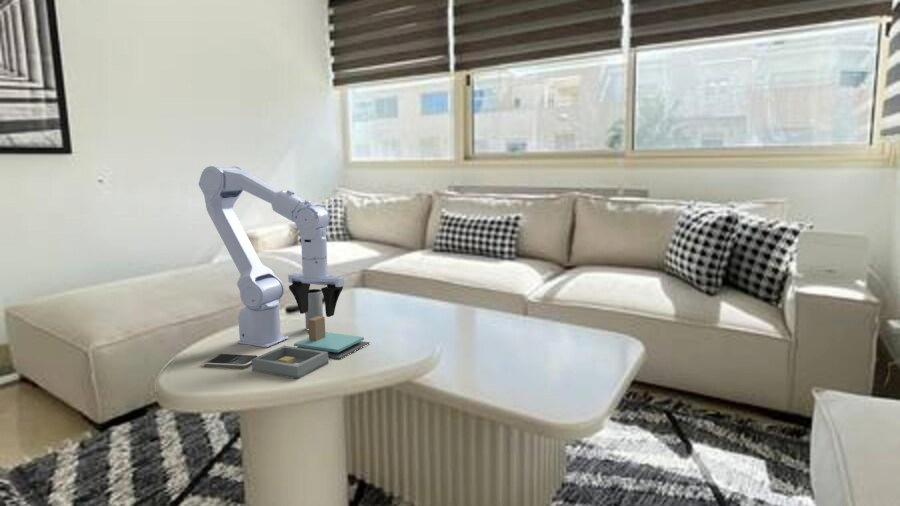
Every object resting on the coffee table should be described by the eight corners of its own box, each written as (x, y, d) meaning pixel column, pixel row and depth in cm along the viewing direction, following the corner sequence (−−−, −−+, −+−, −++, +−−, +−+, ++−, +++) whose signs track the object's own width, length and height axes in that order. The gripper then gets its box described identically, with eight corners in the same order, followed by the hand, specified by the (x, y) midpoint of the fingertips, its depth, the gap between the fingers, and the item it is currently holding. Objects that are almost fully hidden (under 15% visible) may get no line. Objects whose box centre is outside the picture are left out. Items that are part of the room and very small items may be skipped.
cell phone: (246, 371, 116) (246, 364, 115) (199, 368, 118) (198, 362, 117) (261, 361, 122) (261, 355, 121) (216, 359, 124) (216, 353, 123)
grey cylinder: (319, 331, 143) (317, 292, 142) (303, 330, 144) (301, 292, 143) (326, 326, 148) (324, 289, 146) (310, 326, 148) (308, 288, 147)
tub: (252, 370, 115) (251, 359, 114) (284, 356, 124) (284, 345, 123) (298, 378, 110) (297, 366, 109) (328, 363, 119) (328, 352, 118)
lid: (294, 349, 127) (292, 322, 126) (321, 337, 137) (320, 312, 136) (338, 355, 122) (337, 328, 121) (364, 342, 132) (363, 316, 131)
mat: (290, 351, 127) (290, 350, 127) (322, 337, 138) (322, 336, 137) (340, 359, 121) (340, 357, 121) (369, 344, 132) (369, 342, 132)
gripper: (278, 258, 127) (281, 315, 129) (329, 261, 121) (332, 321, 123) (298, 254, 133) (300, 308, 135) (348, 257, 127) (350, 314, 129)
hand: (317, 314), depth 130 cm, fingers open, 7 cm apart
